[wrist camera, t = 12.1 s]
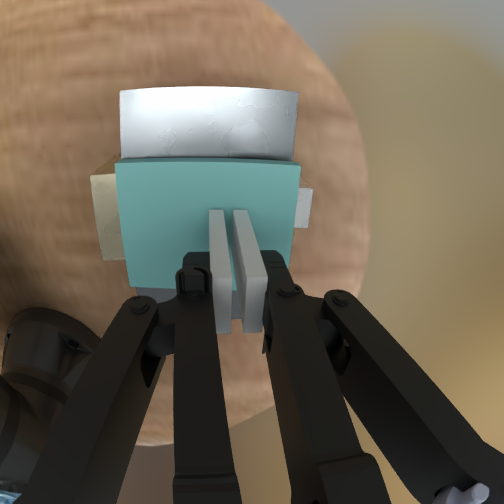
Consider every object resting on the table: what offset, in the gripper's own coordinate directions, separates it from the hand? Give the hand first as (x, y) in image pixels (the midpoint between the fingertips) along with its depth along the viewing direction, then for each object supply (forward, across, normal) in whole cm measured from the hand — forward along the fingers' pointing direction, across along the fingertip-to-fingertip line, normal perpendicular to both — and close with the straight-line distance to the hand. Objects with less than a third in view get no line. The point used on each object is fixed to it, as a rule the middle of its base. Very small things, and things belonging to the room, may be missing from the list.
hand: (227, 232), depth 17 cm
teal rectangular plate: (+1, -1, 0) cm, 2 cm away
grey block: (+10, -1, 0) cm, 10 cm away
